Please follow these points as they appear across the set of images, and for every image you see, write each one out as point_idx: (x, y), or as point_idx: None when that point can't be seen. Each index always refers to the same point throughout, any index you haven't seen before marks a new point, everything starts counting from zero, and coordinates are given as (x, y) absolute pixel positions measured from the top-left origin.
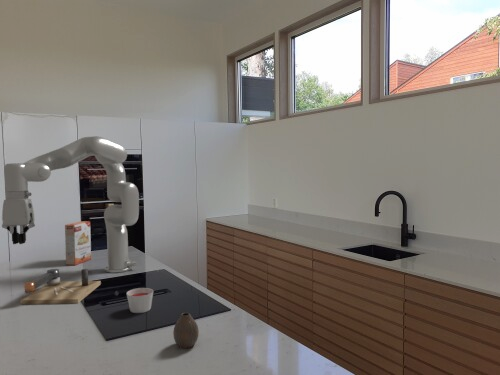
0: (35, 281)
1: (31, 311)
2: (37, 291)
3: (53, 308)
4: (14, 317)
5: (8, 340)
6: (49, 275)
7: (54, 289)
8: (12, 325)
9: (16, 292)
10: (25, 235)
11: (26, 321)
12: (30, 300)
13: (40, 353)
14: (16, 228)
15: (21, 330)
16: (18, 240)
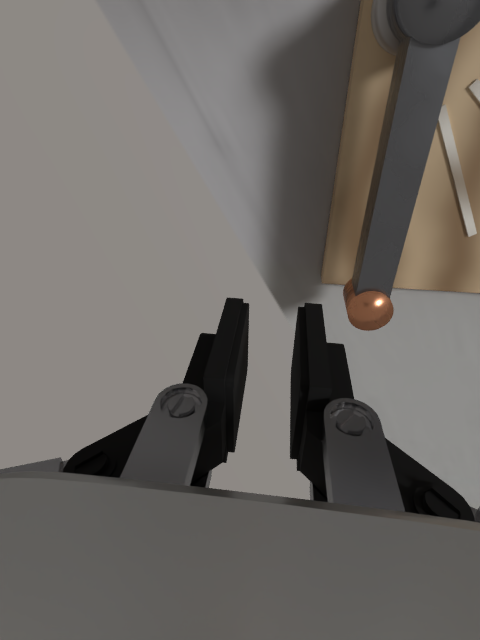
0: (387, 272)
1: (390, 345)
2: (354, 164)
3: (464, 330)
4: (352, 381)
5: None
6: (436, 117)
7: (445, 144)
8: None
9: (214, 95)
10: (350, 390)
11: (400, 409)
12: None
13: None
14: (196, 458)
15: (405, 450)
16: (246, 328)
